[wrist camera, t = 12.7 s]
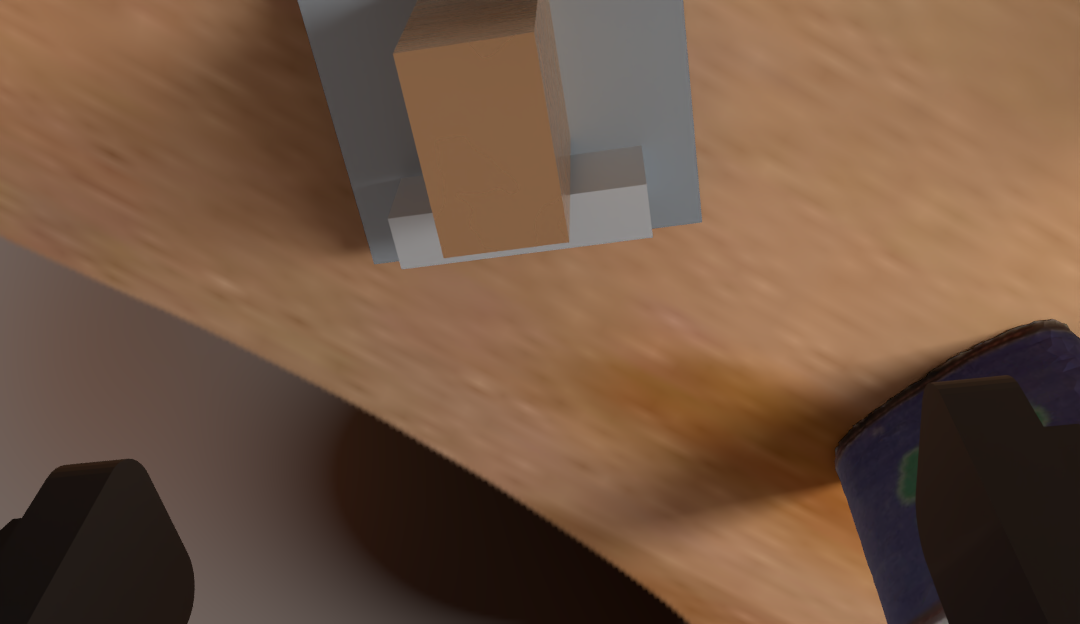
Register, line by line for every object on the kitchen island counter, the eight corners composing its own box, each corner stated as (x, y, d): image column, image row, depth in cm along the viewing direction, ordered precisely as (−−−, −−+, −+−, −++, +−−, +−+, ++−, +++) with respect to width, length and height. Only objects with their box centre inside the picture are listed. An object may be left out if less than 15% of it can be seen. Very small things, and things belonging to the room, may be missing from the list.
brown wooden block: (428, -24, 26) (392, 53, 21) (541, -42, 26) (534, 32, 21) (466, 153, 29) (443, 258, 24) (570, 138, 29) (569, 242, 24)
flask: (856, 486, 37) (944, 748, 28) (811, 440, 36) (888, 698, 27) (1093, 352, 34) (1280, 603, 25) (1051, 296, 33) (1231, 538, 24)
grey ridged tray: (267, -168, 26) (221, -141, 22) (658, -238, 25) (671, -220, 21) (382, 240, 32) (359, 308, 29) (696, 199, 31) (711, 265, 28)
